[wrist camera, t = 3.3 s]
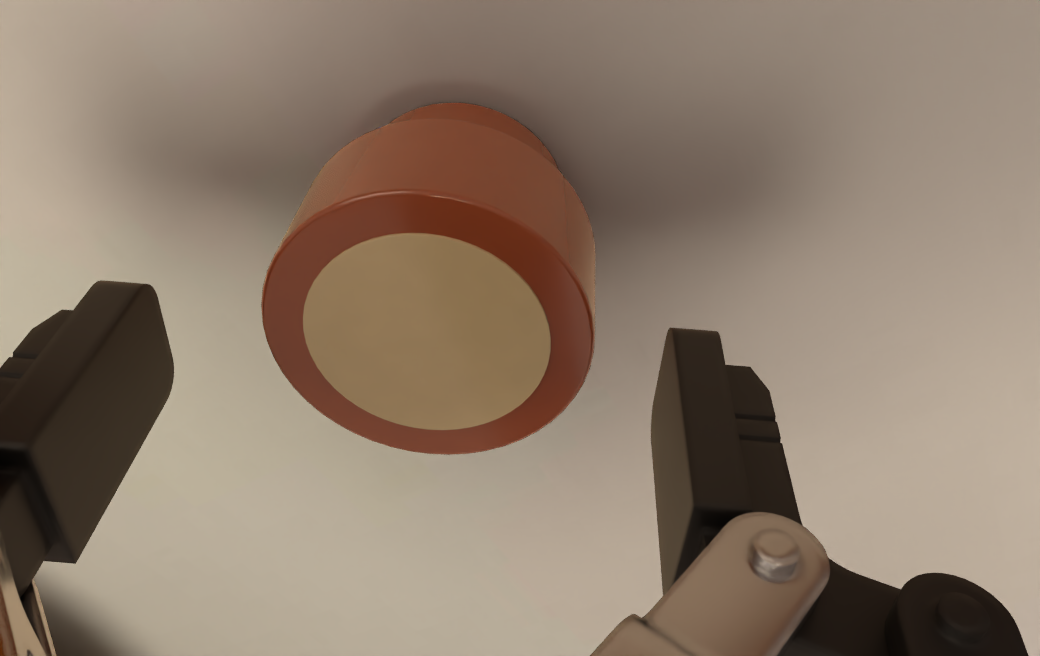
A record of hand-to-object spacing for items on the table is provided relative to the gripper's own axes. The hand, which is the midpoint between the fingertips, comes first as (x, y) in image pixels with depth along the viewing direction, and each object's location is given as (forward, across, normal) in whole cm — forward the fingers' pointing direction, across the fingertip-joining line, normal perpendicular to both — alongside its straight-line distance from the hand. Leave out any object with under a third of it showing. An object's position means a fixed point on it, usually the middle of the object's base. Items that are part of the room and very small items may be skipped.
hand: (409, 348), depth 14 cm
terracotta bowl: (+5, 0, 0) cm, 5 cm away
